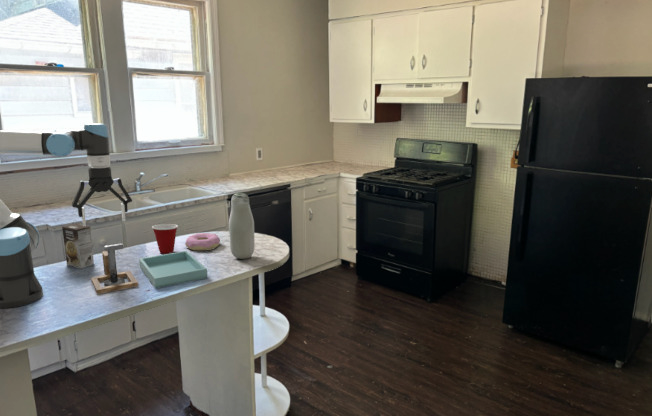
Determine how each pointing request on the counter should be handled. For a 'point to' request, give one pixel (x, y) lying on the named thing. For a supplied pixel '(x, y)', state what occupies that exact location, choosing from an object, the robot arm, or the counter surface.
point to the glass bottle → (241, 227)
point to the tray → (172, 269)
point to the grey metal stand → (113, 265)
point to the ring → (98, 279)
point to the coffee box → (78, 245)
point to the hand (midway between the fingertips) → (104, 223)
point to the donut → (202, 241)
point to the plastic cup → (165, 237)
